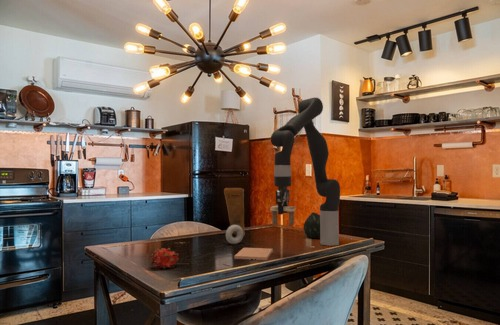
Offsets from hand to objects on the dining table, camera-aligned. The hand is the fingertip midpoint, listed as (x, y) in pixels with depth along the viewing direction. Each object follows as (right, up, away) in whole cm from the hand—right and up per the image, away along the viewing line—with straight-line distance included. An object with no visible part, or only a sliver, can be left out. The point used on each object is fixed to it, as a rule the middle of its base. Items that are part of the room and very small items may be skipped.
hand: (282, 213), depth 164 cm
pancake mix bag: (-23, -21, +59) cm, 66 cm away
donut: (-23, -20, +28) cm, 41 cm away
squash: (+23, -20, +46) cm, 55 cm away
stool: (0, -5, 0) cm, 5 cm away
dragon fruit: (-48, -19, -19) cm, 55 cm away
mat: (-13, -19, +2) cm, 23 cm away
